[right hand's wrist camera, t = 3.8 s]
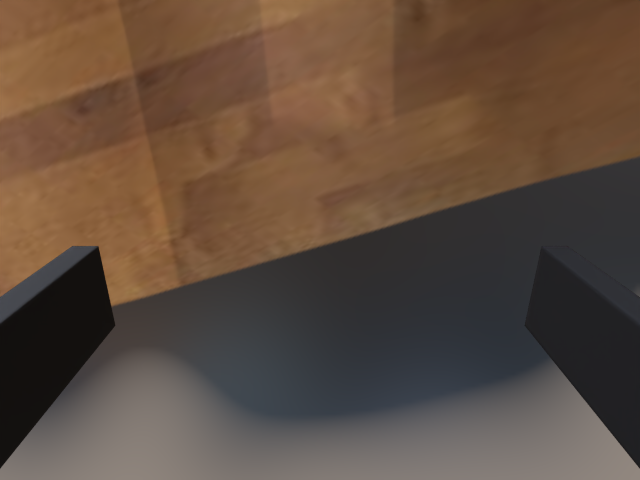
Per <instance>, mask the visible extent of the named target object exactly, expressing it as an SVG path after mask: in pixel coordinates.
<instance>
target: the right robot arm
mask: <svg viewBox="0 0 640 480" xmlns="http://www.w3.org/2000/svg"><path fill="white" fill-rule="evenodd" d="M114 326H115V322H114V317H113V313H112V308H111V303H110V299H109V294H108V289H107V284H106V280H105V275H104V270H103V266H102V261H101V256H100V252H99V247H98V246H72V247H71V248H69V249H68V250H66V251H65V252H63V253H62V254H61V255H59V256H58V257H56V258H55V259H54V260H52V261H51V262H49V263H48V264H47V265H45V266H44V267H42V268H41V269H39V270H38V271H37V272H35V273H34V274H32V275H31V276H30V277H28V278H27V279H25V280H24V281H22V282H21V283H20V284H18V285H17V286H15V287H14V288H13V289H11V290H10V291H8V292H7V293H6V294H4V295H3V296H1V297H0V468H1V467H2V466H3V464H4V463H5V462H6V461H7V459H8V458H9V457H10V456H11V454H12V453H13V452H14V451H15V449H16V448H17V447H18V446H19V445H20V443H21V442H22V441H23V440H24V438H25V437H26V436H27V435H28V433H29V432H30V431H31V430H32V428H33V427H34V426H35V425H36V423H37V422H38V421H39V420H40V418H41V417H42V416H43V415H44V413H45V412H46V411H47V410H48V408H49V407H50V406H51V405H52V403H53V402H54V401H55V400H56V399H57V397H58V396H59V395H60V394H61V392H62V391H63V390H64V389H65V387H66V386H67V385H68V384H69V382H70V381H71V380H72V379H73V377H74V376H75V375H76V374H77V372H78V371H79V370H80V369H81V367H82V366H83V365H84V364H85V362H86V361H87V360H88V359H89V358H90V356H91V355H92V354H93V353H94V351H95V350H96V349H97V348H98V346H99V345H100V344H101V343H102V341H103V340H104V339H105V338H106V336H107V335H108V334H109V333H110V331H111V330H112V329H113V328H114ZM525 326H526V328H527V329H528V330H529V331H530V333H531V334H532V335H533V336H534V338H535V339H536V340H537V341H538V343H539V344H540V345H541V346H542V348H543V349H544V350H545V351H546V353H547V354H548V355H549V356H550V357H551V359H552V360H553V361H554V362H555V364H556V365H557V366H558V367H559V369H560V370H561V371H562V372H563V374H564V375H565V376H566V377H567V379H568V380H569V381H570V382H571V384H572V385H573V386H574V387H575V389H576V390H577V391H578V392H579V394H580V395H581V396H582V397H583V399H584V400H585V401H586V402H587V403H588V405H589V406H590V407H591V408H592V410H593V411H594V412H595V413H596V415H597V416H598V417H599V418H600V420H601V421H602V422H603V423H604V425H605V426H606V427H607V428H608V430H609V431H610V432H611V433H612V434H613V436H614V437H615V438H616V440H617V441H618V442H619V443H620V445H621V446H622V447H623V448H624V449H625V451H626V452H627V453H628V454H629V456H630V457H631V458H632V459H633V461H634V462H635V463H636V464H637V466H638V467H639V468H640V297H639V296H637V295H636V294H634V293H633V292H632V291H630V290H629V289H627V288H626V287H625V286H623V285H622V284H620V283H619V282H618V281H616V280H615V279H613V278H612V277H610V276H609V275H608V274H606V273H605V272H603V271H602V270H600V269H599V268H598V267H596V266H595V265H593V264H592V263H591V262H589V261H588V260H586V259H585V258H584V257H582V256H581V255H579V254H578V253H577V252H575V251H574V250H572V249H571V248H569V247H568V246H542V247H541V252H540V257H539V261H538V266H537V270H536V275H535V280H534V285H533V289H532V294H531V299H530V303H529V308H528V313H527V317H526V322H525Z"/></svg>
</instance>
